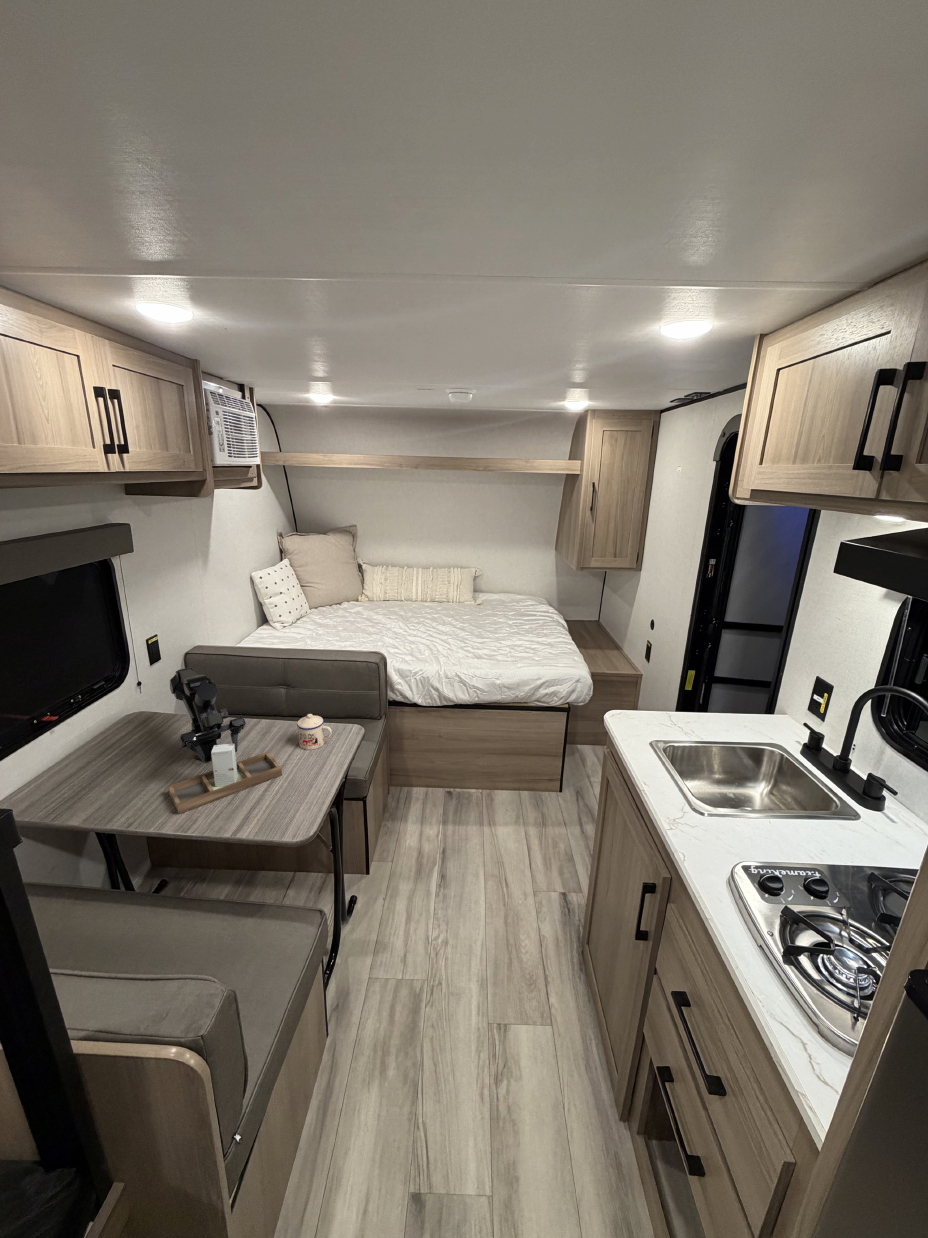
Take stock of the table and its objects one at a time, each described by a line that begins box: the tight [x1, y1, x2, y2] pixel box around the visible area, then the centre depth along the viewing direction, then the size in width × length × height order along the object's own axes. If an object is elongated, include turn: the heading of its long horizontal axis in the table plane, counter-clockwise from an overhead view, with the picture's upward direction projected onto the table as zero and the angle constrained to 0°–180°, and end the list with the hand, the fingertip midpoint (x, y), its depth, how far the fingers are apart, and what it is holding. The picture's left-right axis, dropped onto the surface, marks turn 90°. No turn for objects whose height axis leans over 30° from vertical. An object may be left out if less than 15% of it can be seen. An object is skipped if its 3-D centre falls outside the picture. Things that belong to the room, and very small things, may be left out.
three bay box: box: [167, 751, 283, 815], centre depth 157 cm, size 12×30×3 cm, turn 131°
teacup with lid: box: [296, 713, 333, 751], centre depth 179 cm, size 12×9×12 cm
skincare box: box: [211, 743, 238, 786], centre depth 156 cm, size 6×4×12 cm
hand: (221, 757), depth 157 cm, fingers open, 9 cm apart
